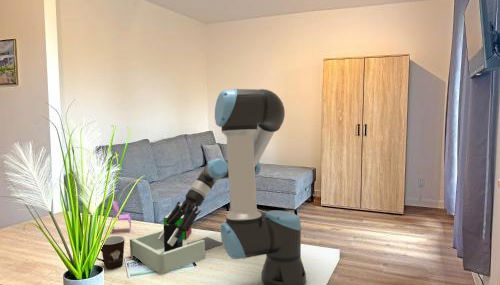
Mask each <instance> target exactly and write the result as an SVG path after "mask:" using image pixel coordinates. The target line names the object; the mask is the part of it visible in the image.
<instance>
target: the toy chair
mask: <svg viewBox="0 0 500 285" xmlns="http://www.w3.org/2000/svg"><path fill="white" fill-rule="evenodd" d="M112 205H113V207H112V210H113V216H114V217H113V219H114V218H115V217H116V215H117V214H118V215H119V218H118V220H117V221H128V223H129V229H128V234H130V231H131V227H132V218H131V216H130V213H126V214H119V210H120V207H119V205H118V202H117V201H116V200H113V201H112ZM117 221H116V222H117ZM114 228H115V226H114V227H113V229H112V228H111V230H110V231H111V233H110V235H111V234H112V235H113V231H114Z"/></svg>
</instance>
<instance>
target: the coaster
mask: <svg viewBox="0 0 500 285" xmlns="http://www.w3.org/2000/svg"><path fill="white" fill-rule="evenodd" d="M200 240H204V241H205V251H207V250H211V249H212V248H215V247H218V246H221V245H223V242H222V241H219V240H217V239H213V238H212V237H210V236H205V237H202V238H200V239H196V240H194V241H191V242H188V243H187V244H186V245H188V244H191V243H194V242H197V241H200Z"/></svg>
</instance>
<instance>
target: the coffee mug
mask: <svg viewBox="0 0 500 285" xmlns="http://www.w3.org/2000/svg"><path fill="white" fill-rule="evenodd" d="M103 239H104V238H102V239H100V241H101V243H102V241H103ZM125 241H126V240H125V237H124V236H121V235H112V236H111V235H110V236H108V238H107V239H106V241H105V243H104V245H103V247H102V249H101V250H100V252H101V255H102V258H99V257H96V258H97V259H96V260H97V261H101V262H103V265H104V266H103V267H104V268H105V269H106V270H111V271H112V270H118V269H120V268H121V267H123V265H124V255H125V254H124V253H125V252H124V251H125Z"/></svg>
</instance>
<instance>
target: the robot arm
mask: <svg viewBox="0 0 500 285" xmlns="http://www.w3.org/2000/svg"><path fill="white" fill-rule="evenodd" d="M285 114H286V112H285V106H284V103H283V101H282V99H281V98H280V97H279V95H277V94H276V93H275V92H273V91H272V90H270V89H264V88H260V89H258V88H257V89H252V88H250V89H249V88H233V89H232V88H229V89H224V90H221V91H220V92H219V94H218V95H217V99H216V101H215V108H214V121H215V125H216V126H217V127H219V128H221V133H222V134H223V135H224V137H226V149H227V150H226V151H227V159H222V158H214V159H212V160H209V161H208V162H207V163H206V165H205V166H204V167H203V169H202V171H201V172H200V174H199V175H198V177H197V178H196V180H195V181H194V182H193V183H192V185H191V187H190V189H189V190H188V191H187V192H186V194H185V199H184V200H183V201H182V202H180V201H177V203H176V205H175V206H174V208H173V209H172V211H170V212H171V214H170V215H169V216H168V218H167V219H166V221H165V222H166V223H167V225H174V224H175V223H176V222H177V221H178V220H179V219H180V218H181V217H182V216H183V215H184V216H183V219H182V221H181V224H180V226H178V228H179V229H178V228H176V230H175V231H174V233H173V234H172V236H171V237H170V239H169V241H168V242H167V243H168V244H170V245H171V246H173V245H174V244H175V242H176V241H177V239H178V238H179V237H180V235H181V234H182V232H184V231H186V232H187V231H188V230H189V228H190V227H191V228H192V225H193V223H194V222H195V220H196V218H197V217H198V215H199V214H200V213H201V212H202V210H201V209H200V208H199V207H200V206H202V204H203V203H204V202H205V198H207V196H208V195H209V193H210V191H211V190H212V188H213V187H214V185H215V184H216V182H218V181H219V180H224V179H227V180H228V188H229V189H228V190H229V206H230V207H229V210H230V211H229V212H228V213H227V214H226V216H225V222H223V223H221V225H220V237H221V242H222V243H223V244H222V245H223V247H224V250H225V252H226V254H227V256H228V257H229V258H230V259H233V260H239V259H243V260H245V259H246V258H253V257H257V256H263V255H266V256H265V257H266V258H265V259H264V264H263V266H262V270H261V275H260V276H261V279H260V280H261V283H262V284H264V285H305V284H306V282H307V274H306V269H305V267H304V263H303V261H302V257H301V254H302V252H301V248H302V247H301V245H302V244H301V242H302V236H301V235H302V234H301V233H302V232H301V231H302V224H301V218H300V217H299V215H297V214H295V213H293V212H289V211H285V210H268V211H267V212H266V213H265V215H264V216H265V217H263V214H262V212H260V211H259V210H258V207H257V206H258V205H257V204H258V202H257V184H256V176H258V175H259V174H260V173H261V163H260V160H261V158H262V156H263V154H264V153H265V150H266V148H267V147H268V145H269V144H270V141H271V139H272V137H273V136H274V134H275V132H277V131H279V130H280V129H281V127H282V126H283V123H284V120H285ZM162 230H163V232H162V233H161V235H160V236H159V238H158V239H160V240H161V241H162V242H164V229H162Z"/></svg>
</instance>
